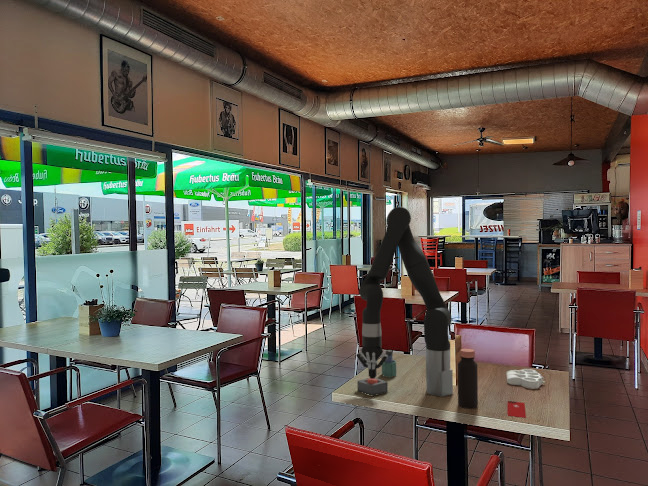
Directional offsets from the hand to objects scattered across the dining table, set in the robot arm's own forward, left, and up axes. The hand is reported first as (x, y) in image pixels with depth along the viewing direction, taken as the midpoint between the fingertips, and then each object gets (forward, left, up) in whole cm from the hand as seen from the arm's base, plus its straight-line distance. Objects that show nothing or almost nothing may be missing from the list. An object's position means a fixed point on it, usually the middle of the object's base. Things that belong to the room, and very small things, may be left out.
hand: (372, 378), depth 188 cm
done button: (0, 0, -4) cm, 4 cm away
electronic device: (-44, -29, -6) cm, 53 cm away
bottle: (-32, -18, -6) cm, 37 cm away
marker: (+13, -20, -5) cm, 25 cm away
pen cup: (+13, -20, -5) cm, 25 cm away
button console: (0, 0, -5) cm, 5 cm away
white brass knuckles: (-27, -60, -6) cm, 66 cm away
